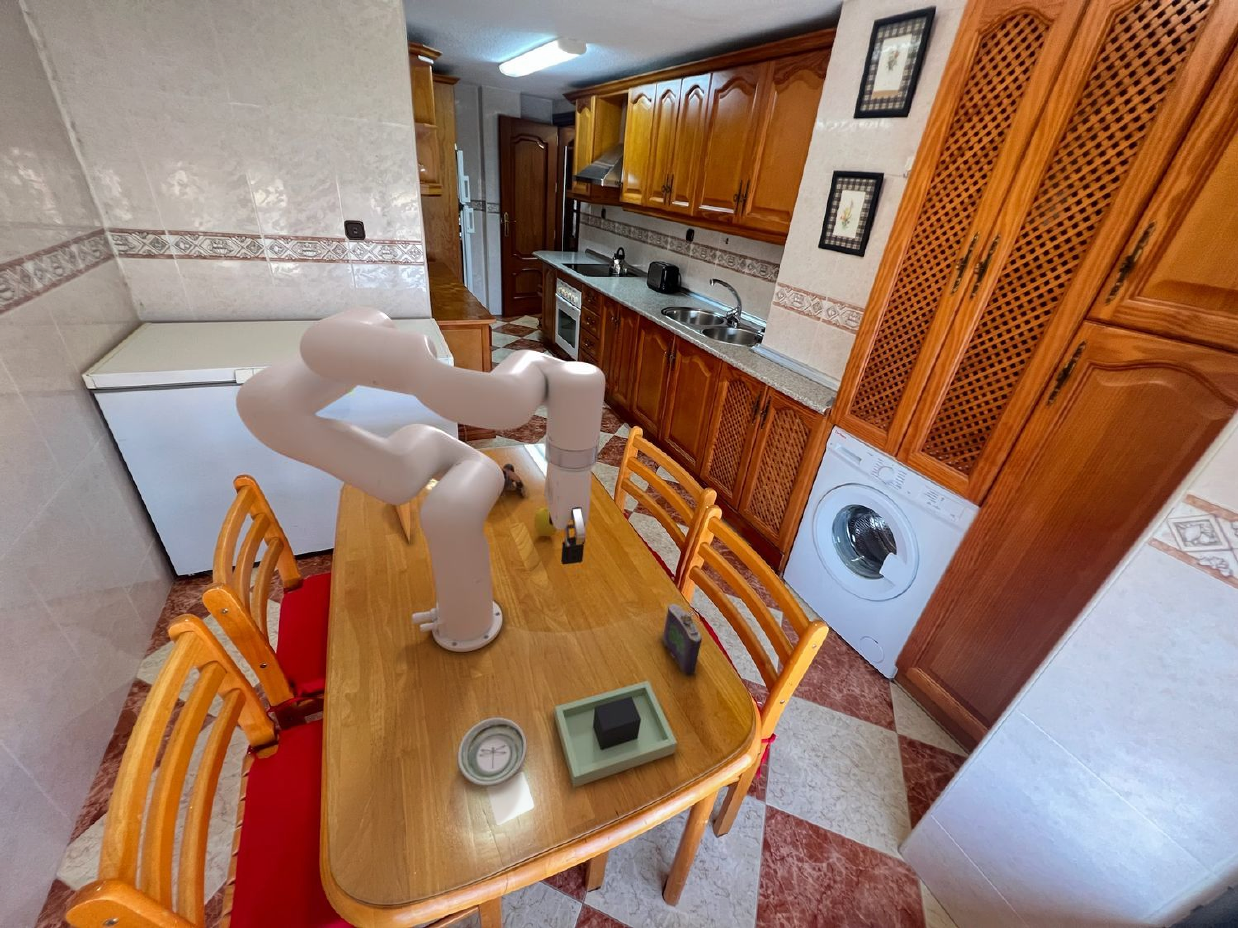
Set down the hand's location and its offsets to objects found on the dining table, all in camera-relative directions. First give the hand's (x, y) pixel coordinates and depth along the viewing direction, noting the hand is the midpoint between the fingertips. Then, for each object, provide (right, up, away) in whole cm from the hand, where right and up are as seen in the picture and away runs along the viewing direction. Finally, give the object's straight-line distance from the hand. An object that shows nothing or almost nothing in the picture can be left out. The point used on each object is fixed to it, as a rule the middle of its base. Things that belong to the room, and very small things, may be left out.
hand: (564, 541), depth 80 cm
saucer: (-10, -31, -7) cm, 33 cm away
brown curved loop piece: (-21, +5, +51) cm, 56 cm away
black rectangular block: (+8, -29, -3) cm, 30 cm away
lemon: (-9, -5, +38) cm, 39 cm away
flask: (+20, -23, +12) cm, 32 cm away
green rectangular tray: (+8, -30, -2) cm, 31 cm away
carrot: (-43, -1, +39) cm, 57 cm away
